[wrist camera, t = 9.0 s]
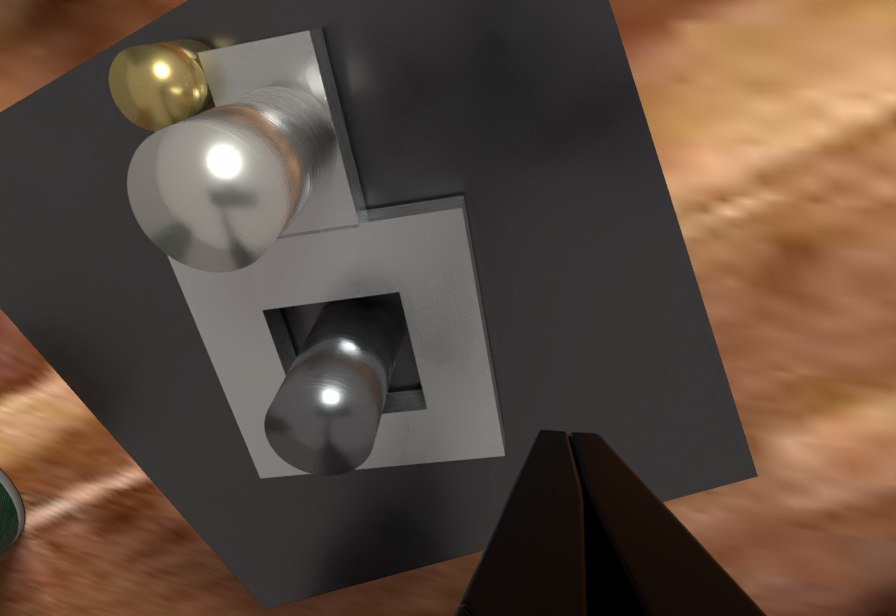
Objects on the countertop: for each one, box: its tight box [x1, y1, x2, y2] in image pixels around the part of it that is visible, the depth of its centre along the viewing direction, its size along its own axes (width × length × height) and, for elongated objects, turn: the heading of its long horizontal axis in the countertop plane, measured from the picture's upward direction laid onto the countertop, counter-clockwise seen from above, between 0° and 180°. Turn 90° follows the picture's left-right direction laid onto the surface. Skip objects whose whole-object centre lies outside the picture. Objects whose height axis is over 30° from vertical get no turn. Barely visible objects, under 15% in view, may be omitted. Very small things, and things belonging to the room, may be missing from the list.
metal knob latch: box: [127, 28, 505, 478], centre depth 17 cm, size 14×9×6 cm, turn 10°
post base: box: [0, 0, 757, 609], centre depth 19 cm, size 22×22×6 cm
